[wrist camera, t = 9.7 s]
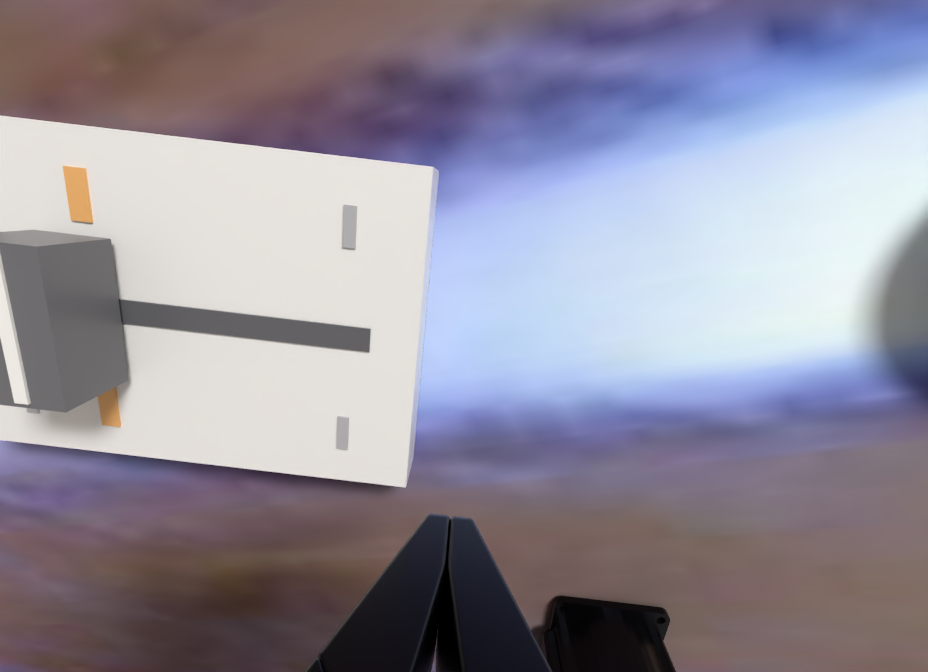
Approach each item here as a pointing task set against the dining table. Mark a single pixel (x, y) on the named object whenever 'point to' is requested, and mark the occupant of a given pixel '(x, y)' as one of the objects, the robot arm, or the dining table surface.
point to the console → (239, 297)
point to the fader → (58, 320)
